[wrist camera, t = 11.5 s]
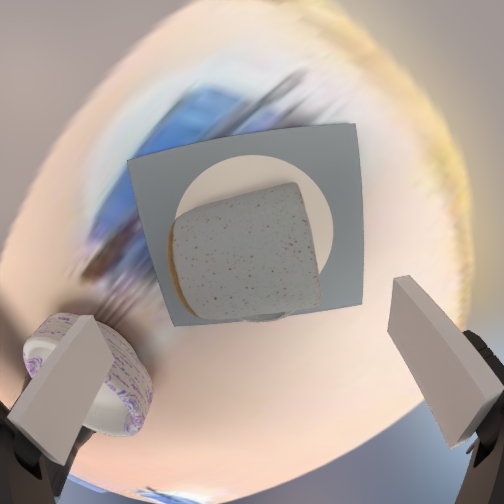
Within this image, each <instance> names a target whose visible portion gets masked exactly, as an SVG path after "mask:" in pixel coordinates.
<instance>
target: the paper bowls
mask: <svg viewBox="0 0 504 504" xmlns="http://www.w3.org/2000/svg"><path fill="white" fill-rule="evenodd" d="M79 317H80V315H77V314H73V313H56V314H53V315H50V316H49V317H48V318H47V320H45V321H44V322H43V323H42V324H41V326H40V327H39V328H38V329H37V330H36V331H35V332H34V333H33V334H32V335H31V336H30V337H29V339H27V340H26V342H25V344H24V347H23V359H24V363H25V366H26V368H27V370H28V372H29V374H30V376H31V378H33V377H34V376H35V374H36V373H37V371H38V370H39V369H40V367H41V366H42V365H43V363H44V362H45V360H46V359H47V358H48V356H49V355H50V354H51V352H52V351H53V350H54V348H55V347H56V346H57V345H58V343H59V342H60V341H61V339H62V338H63V337H64V336H65V334H66V333H67V332H68V331H69V329H70V328H71V327H72V326H73V324H74V323H75V322H76V321H77V320H78V318H79ZM96 323H97V325H98V327H99V329H100V331H101V333H102V335H103V337H104V339H105V341H106V343H107V345H108V347H109V349H110V351H111V353H112V354H113V356H114V358H115V361H114V363H113V365H112V367H111V368H110V370H109V372H108V374H107V376H106V378H105V380H104V382H103V384H102V386H101V388H100V390H99V392H98V394H97V396H96V398H95V400H94V402H93V404H92V406H91V408H90V410H89V412H88V414H87V416H86V418H85V420H84V422H83V424H82V425H83V426H85V427H87V428H90V429H92V430H94V431H97V432H99V433H102V434H106V435H110V436H116V437H127V436H132V435H134V434H136V433H137V432H138V431H139V430H140V429H141V428H142V426H143V423H144V420H145V417H146V415H147V413H148V410H149V406H150V404H151V401H152V398H153V385H152V381H151V378H150V376H149V373H148V372H147V370H146V368H145V367H144V365H143V364H142V362H141V361H140V360H139V358H138V356H137V354H136V353H135V351H134V349H133V348H132V347H131V345H130V344H129V343H128V342H127V341H126V340H125V339H124V338H123V337H122V336H121V335H120V334H119V333H118V332H116V331H115V330H114V329H112V328H111V327H109V326H107V325H105V324H103V323H101V322H98V321H96Z"/></svg>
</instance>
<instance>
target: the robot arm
mask: <svg viewBox="0 0 504 504" xmlns="http://www.w3.org/2000/svg"><path fill="white" fill-rule="evenodd" d="M387 332H388V333H389V335H390V337H391V338H392V340H393V342H394V343H395V345H396V347H397V349H398V350H399V352H400V354H401V356H402V357H403V359H404V361H405V363H406V364H407V366H408V368H409V370H410V372H411V373H412V375H413V377H414V379H415V381H416V383H417V384H418V386H419V388H420V390H421V392H422V394H423V396H424V398H425V400H426V402H427V404H428V406H429V408H430V409H431V412H432V414H433V415H434V418H435V420H436V422H437V424H438V426H439V428H440V430H441V432H442V434H443V437H444V438H445V441H446V443H447V445H448V448H449V450H451V449H453V448H455V447H457V446H458V445H460V444H462V443H464V442H466V441H468V440H469V438H470V437H471V436H472V435H473V433H474V432H476V433H477V435H478V438H477V439H476V440H475V442H474V443H473V444H472V445H471V446H470V447H469V449H468V450H467V452H466V454H469V453H470V452H471V451H472V450H473V452H472V456H471V459H470V463H469V466H468V469H467V472H466V476H465V478H464V481H463V484H462V486H461V489H460V492H459V494H458V497H457V499H456V502H455V504H504V365H503V364H502V363H501V362H500V361H499V359H498V358H497V357H496V356H495V355H493V352H492V351H491V350H490V348H488V347H487V345H486V343H485V342H484V341H483V340H482V339H481V338H480V337H479V336H478V335H476V334H475V333H473V332H471V331H470V330H467V331H464V332H461V331H460V330H459V328H458V327H457V326H456V325H455V324H454V323H453V321H452V320H451V319H450V318H449V317H448V316H447V315H446V314H445V312H444V311H443V310H442V309H441V308H440V307H439V306H438V305H437V304H436V303H435V301H434V300H433V299H432V298H431V297H430V296H429V295H428V294H427V293H426V292H425V291H424V290H423V289H422V288H421V287H420V286H419V285H418V284H417V283H416V281H415V280H414V279H413V278H412V277H411V276H410V275H407V276H402V277H397V278H393V290H392V299H391V308H390V316H389V323H388V330H387ZM114 361H115V358H114V356H113V354H112V353H111V351H110V349H109V347H108V345H107V343H106V341H105V339H104V337H103V335H102V333H101V331H100V329H99V327H98V325H97V323H96V321H95V319H94V316H93V315H81V316H80V317H79V318H78V320H77V321H76V322H75V323H74V324H73V326H72V327H71V328H70V329H69V331H68V332H67V333H66V334H65V336H64V337H63V338H62V339H61V341H60V342H59V343H58V345H57V346H56V347H55V348H54V350H53V351H52V352H51V354H50V355H49V356H48V358H47V359H46V360H45V362H44V363H43V365H42V366H41V367H40V369H39V370H38V371H37V373H36V374H35V376H34V377H33V378H31V376H30V374H29V372H27V374H26V377H25V382H24V385H23V388H22V392H21V395H20V396H19V397H18V399H17V400H16V402H15V403H14V405H13V407H12V408H11V410H9V409H8V408H7V407H6V406H5V405H4V404H3V403H2V402H1V401H0V504H57V502H58V500H59V499H60V498H61V492H62V489H63V487H64V484H65V481H66V479H67V476H68V474H69V471H70V469H71V466H72V464H73V461H74V459H75V457H76V454H77V452H78V450H79V448H80V447H81V446H82V445H83V444H84V443H85V442H86V441H87V440H88V439H89V438H90V437H91V436H92V434H93V433H96V432H97V431H94V430H92V429H90V428H87V427H85V426H83V425H82V424H83V422H84V420H85V418H86V416H87V414H88V412H89V410H90V408H91V406H92V404H93V402H94V400H95V398H96V396H97V394H98V392H99V390H100V388H101V386H102V384H103V382H104V380H105V378H106V376H107V374H108V372H109V370H110V368H111V367H112V365H113V363H114ZM473 448H474V449H473Z"/></svg>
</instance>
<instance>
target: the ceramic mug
mask: <svg viewBox="0 0 504 504" xmlns="http://www.w3.org/2000/svg"><path fill="white" fill-rule="evenodd" d="M167 264H168V270H169V274H170V278H171V282H172V285H173V288H174V290H175V292H176V294H177V296H178V299H179V300H180V302H181V303H182V305H183V306H184V307H185V308H186V309H187V311H188V312H190V313H191V314H192V315H194V316H196V317H199V318H204V319H213V320H223V319H233V318H237V319H240V320H244V321H250V322H267V321H274V320H278V319H281V318H284V317H287V316H289V315H291V314H292V313H294V312H295V311H296V310H302V309H309V308H314V307H318V306H320V305H321V303H322V292H321V283H320V277H319V270H318V263H317V259H316V254H315V248H314V242H313V236H312V231H311V226H310V222H309V218H308V215H307V212H306V208H305V203H304V200H303V197H302V194H301V191H300V188H299V186H298V184H297V183H295V182H290V183H285V184H281V185H277V186H274V187H270V188H266V189H261V190H257V191H253V192H249V193H245V194H241V195H238V196H235V197H232V198H228V199H224V200H220V201H216V202H212V203H209V204H205V205H202V206H198V207H196V208H194V209H192V210H189V211H187V212H185V213H183V214H182V215H180V216H179V217H178V218H176V220H175V221H174V223H173V224H172V226H171V229H170V231H169V234H168V240H167Z"/></svg>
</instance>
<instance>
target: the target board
mask: <svg viewBox="0 0 504 504" xmlns="http://www.w3.org/2000/svg"><path fill="white" fill-rule="evenodd" d="M127 164H128V169H129V174H130V178H131V183H132V187H133V192H134V196H135V200H136V205H137V209H138V213H139V217H140V220H141V224H142V228H143V232H144V235H145V239H146V243H147V246H148V250H149V253H150V256H151V260H152V263H153V266H154V270H155V273H156V276H157V279H158V282H159V285H160V288H161V291H162V294H163V297H164V300H165V303H166V306H167V309H168V312H169V314H170V317H171V320H172V323H173V325H174V326H190V325H204V324H217V323H228V322H239V321H244V320H240V319H237V318H233V319H223V320H213V319H204V318H199V317H196V316H194V315H192V314H191V313H190V312H188V311H187V309H186V308H185V307H184V306H183V305H182V303H181V302H180V300H179V299H178V296H177V294H176V292H175V290H174V288H173V285H172V282H171V278H170V274H169V270H168V264H167V240H168V234H169V231H170V229H171V226H172V224H173V223H174V221H175V220H176V218H178V217H179V216H180V215H182V214H183V213H185V212H187V211H189V210H192V209H194V208H196V207H198V206H202V205H205V204H209V203H212V202H216V201H220V200H224V199H228V198H232V197H235V196H238V195H241V194H245V193H249V192H253V191H257V190H261V189H266V188H270V187H274V186H277V185H281V184H285V183H290V182H295V183H297V184H298V186H299V188H300V191H301V194H302V197H303V200H304V203H305V208H306V212H307V215H308V218H309V222H310V226H311V231H312V236H313V242H314V248H315V254H316V259H317V263H318V270H319V277H320V283H321V292H322V303H321V305H320V306H318V307H314V308H309V309H302V310H296V311H295V312H294V313H292V314H291V315H298V314H306V313H312V312H319V311H326V310H332V309H338V308H344V307H350V306H356V305H362V297H363V267H364V230H363V200H362V183H361V170H360V158H359V148H358V139H357V131H356V123H353V124H332V125H317V126H305V127H295V128H285V129H277V130H269V131H261V132H254V133H248V134H241V135H235V136H229V137H224V138H218V139H213V140H208V141H203V142H198V143H193V144H189V145H184V146H180V147H176V148H171V149H167V150H163V151H159V152H155V153H152V154H148V155H144V156H141V157H137V158H134V159H130V160H127ZM291 315H289V316H291Z"/></svg>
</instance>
